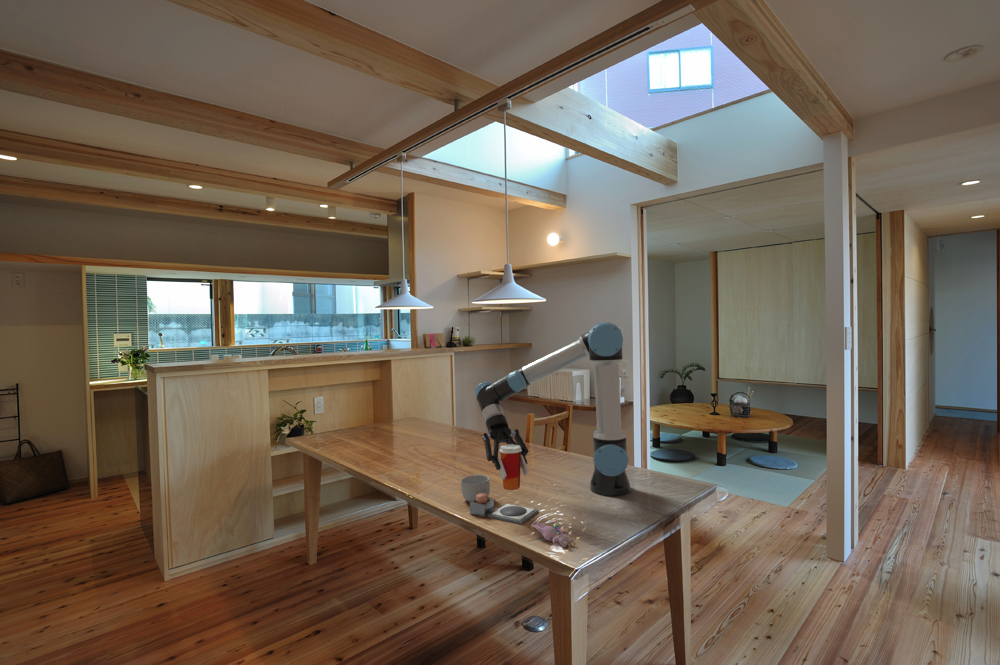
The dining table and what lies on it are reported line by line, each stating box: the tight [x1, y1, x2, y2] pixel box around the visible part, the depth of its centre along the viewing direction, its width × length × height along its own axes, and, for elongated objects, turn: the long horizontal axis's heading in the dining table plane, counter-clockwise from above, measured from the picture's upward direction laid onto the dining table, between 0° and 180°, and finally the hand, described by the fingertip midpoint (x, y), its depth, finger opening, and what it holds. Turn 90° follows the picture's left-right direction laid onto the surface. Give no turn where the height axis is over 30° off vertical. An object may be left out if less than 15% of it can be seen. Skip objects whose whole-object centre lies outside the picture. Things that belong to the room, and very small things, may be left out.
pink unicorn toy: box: [531, 522, 576, 550], centre depth 140 cm, size 6×6×15 cm
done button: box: [476, 493, 488, 504], centre depth 164 cm, size 4×4×3 cm
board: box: [487, 502, 539, 525], centre depth 161 cm, size 13×12×1 cm
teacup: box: [459, 473, 491, 503], centre depth 177 cm, size 14×11×8 cm
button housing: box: [469, 497, 495, 518], centre depth 164 cm, size 6×6×4 cm
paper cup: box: [498, 443, 522, 491], centre depth 161 cm, size 8×8×14 cm
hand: (515, 475), depth 158 cm, fingers closed on paper cup, 8 cm apart
